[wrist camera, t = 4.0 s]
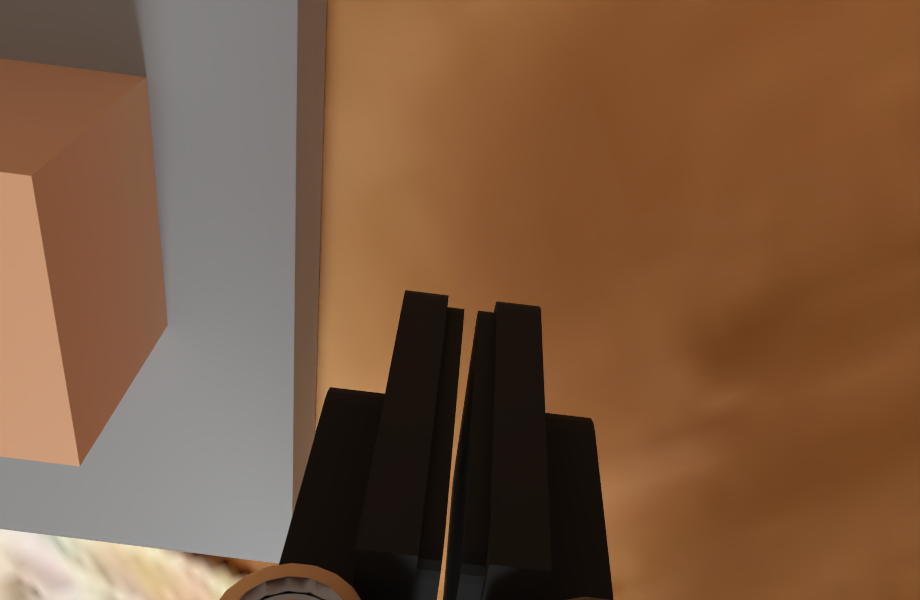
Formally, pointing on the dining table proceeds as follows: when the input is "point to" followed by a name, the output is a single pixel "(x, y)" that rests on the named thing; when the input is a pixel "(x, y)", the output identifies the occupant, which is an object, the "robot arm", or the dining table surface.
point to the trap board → (202, 275)
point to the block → (74, 254)
